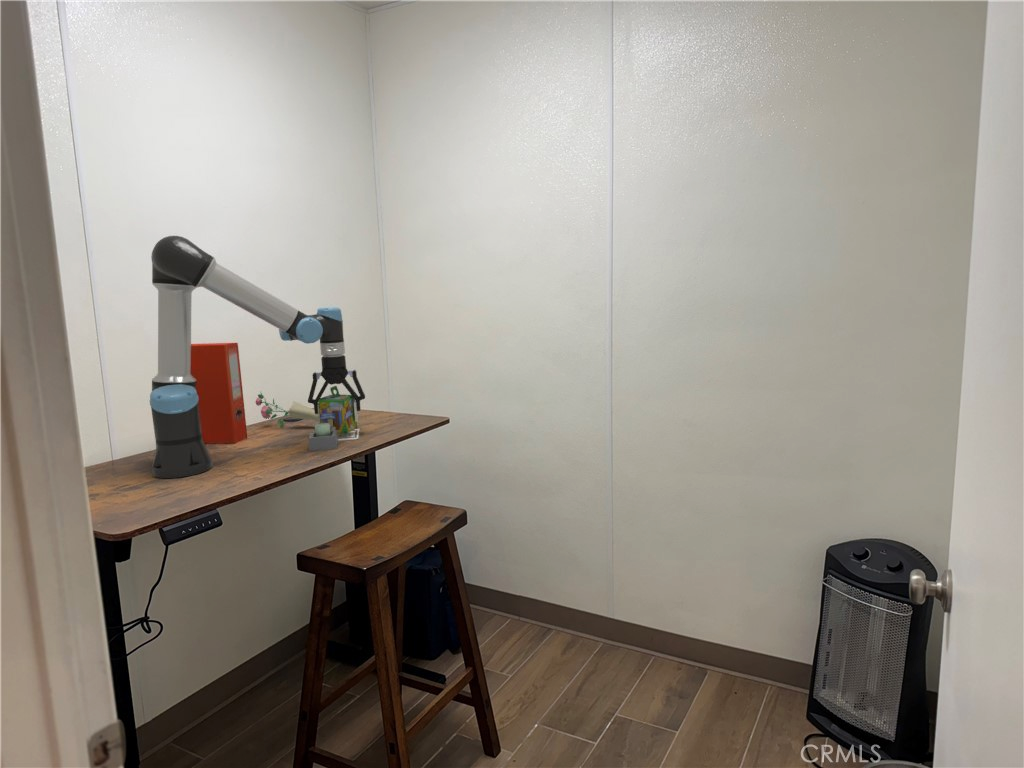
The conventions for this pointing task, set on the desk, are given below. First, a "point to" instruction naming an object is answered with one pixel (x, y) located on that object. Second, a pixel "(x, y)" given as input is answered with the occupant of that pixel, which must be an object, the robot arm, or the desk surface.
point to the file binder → (219, 392)
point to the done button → (322, 429)
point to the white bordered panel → (349, 435)
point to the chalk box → (338, 411)
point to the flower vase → (295, 411)
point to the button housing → (323, 441)
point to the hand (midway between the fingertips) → (338, 422)
